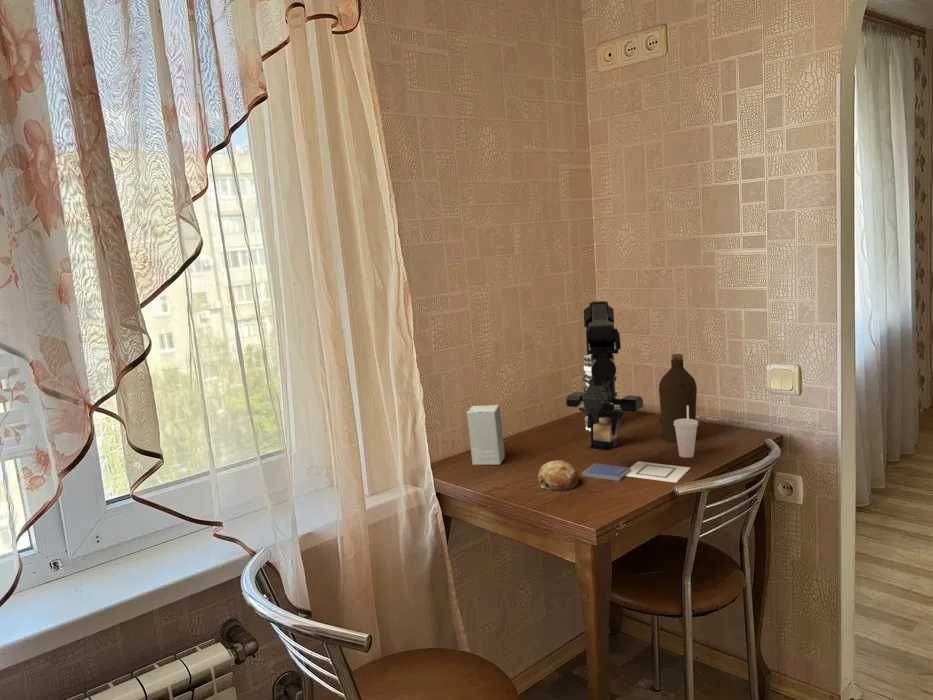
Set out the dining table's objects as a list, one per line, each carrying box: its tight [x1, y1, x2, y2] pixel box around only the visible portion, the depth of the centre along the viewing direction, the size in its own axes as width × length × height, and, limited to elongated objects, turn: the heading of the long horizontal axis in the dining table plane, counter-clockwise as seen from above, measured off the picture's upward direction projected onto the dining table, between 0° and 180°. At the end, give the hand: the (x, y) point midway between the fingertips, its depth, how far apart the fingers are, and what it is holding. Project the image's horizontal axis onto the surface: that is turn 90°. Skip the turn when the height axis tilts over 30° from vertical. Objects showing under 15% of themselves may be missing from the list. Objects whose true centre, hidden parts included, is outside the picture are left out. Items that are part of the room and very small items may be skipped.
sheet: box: [624, 460, 691, 483], centre depth 184 cm, size 14×12×1 cm
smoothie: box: [674, 406, 699, 459], centre depth 194 cm, size 6×6×14 cm
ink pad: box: [581, 463, 631, 482], centre depth 185 cm, size 10×8×1 cm
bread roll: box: [537, 459, 579, 492], centre depth 179 cm, size 10×10×8 cm
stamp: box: [593, 417, 618, 442], centre depth 183 cm, size 4×4×6 cm
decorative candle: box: [581, 351, 592, 432], centre depth 226 cm, size 9×9×25 cm
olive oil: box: [658, 353, 698, 443], centre depth 210 cm, size 11×11×25 cm
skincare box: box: [466, 404, 506, 466], centre depth 200 cm, size 8×7×16 cm
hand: (605, 434), depth 183 cm, fingers closed on stamp, 4 cm apart
